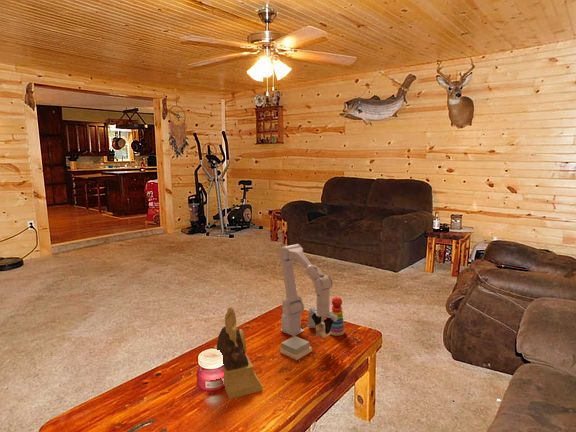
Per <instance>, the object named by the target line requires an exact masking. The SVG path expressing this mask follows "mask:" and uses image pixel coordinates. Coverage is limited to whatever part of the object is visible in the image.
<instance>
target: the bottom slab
mask: <svg viewBox="0 0 576 432" xmlns="http://www.w3.org/2000/svg"><path fill="white" fill-rule="evenodd" d="M279 351H280V354H283V355H285V356H288V357H289V358H291V359H294V360H295V361H298V360H300V359H301V358H303V357H304V356H307V355H308V354H310V353H311V352H313V349H312V346H310V345H309V348H307V349H305V350H304V351H302V352H300V353H298V354H297V355H295V354H293V353H291V352H289V351H286V350H284V349H282V348H281V347H280V349H279Z"/></svg>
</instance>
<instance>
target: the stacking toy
mask: <svg viewBox="0 0 576 432" xmlns="http://www.w3.org/2000/svg"><path fill="white" fill-rule="evenodd" d="M331 304H332V306H331V311H330V312H331V313H333V314H334V315H336V316H338V320H337V321H334V322H333V324H332V326H331V329H330V336H331V335H332V336H335V337H336V336H337V337H339V336H342V335H344V334H345V331H346V330H345V325H344V324H345V323H344V315H343V313H344V312H343V307H342V305H343V300H342V298H341V297H340V296H333V297H332V299H331Z"/></svg>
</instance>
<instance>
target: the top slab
mask: <svg viewBox="0 0 576 432" xmlns="http://www.w3.org/2000/svg"><path fill="white" fill-rule="evenodd" d="M309 346H310V341H309V340H306V339H303V338H300V337H299V336H297V335H296V336H291V337H290V338H288V339H285V340H284V341H282V342H281V343H280V348H282V349H284V350H286V351H289V352H291V353H293V354H295V355H297V354H298V353H300V352H302V351H304V350H305V349H307V348H309Z"/></svg>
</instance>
